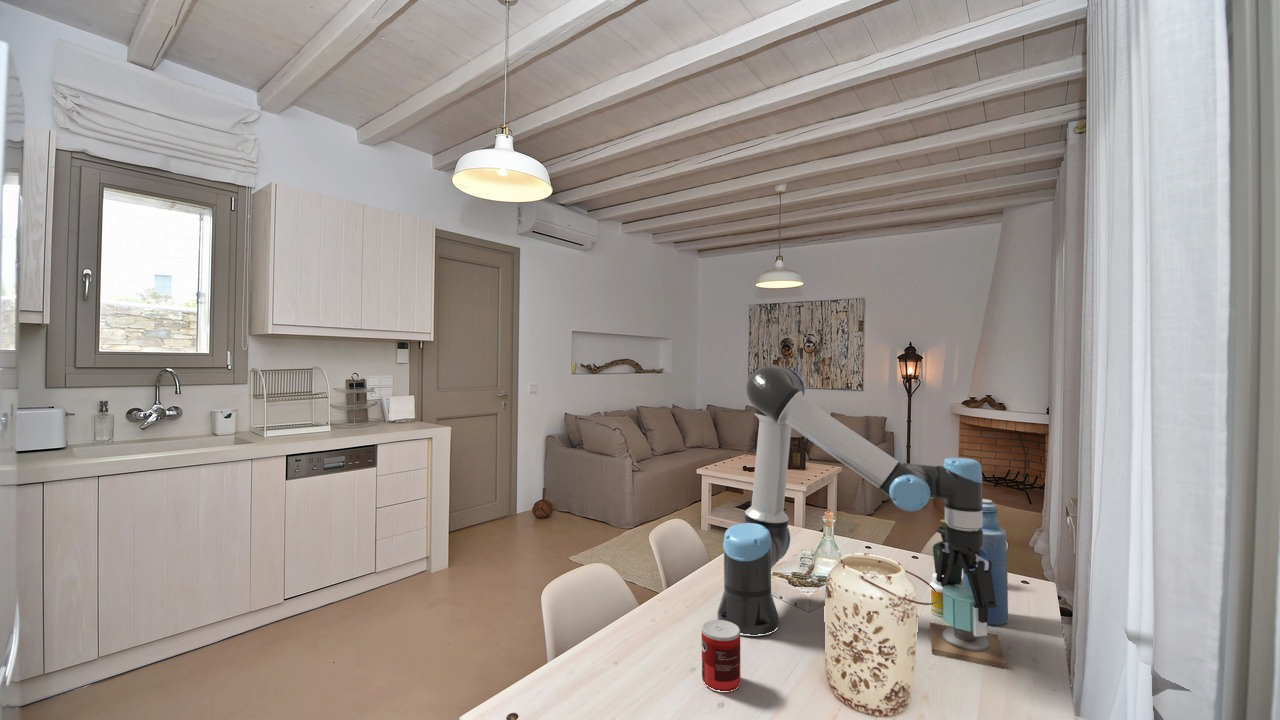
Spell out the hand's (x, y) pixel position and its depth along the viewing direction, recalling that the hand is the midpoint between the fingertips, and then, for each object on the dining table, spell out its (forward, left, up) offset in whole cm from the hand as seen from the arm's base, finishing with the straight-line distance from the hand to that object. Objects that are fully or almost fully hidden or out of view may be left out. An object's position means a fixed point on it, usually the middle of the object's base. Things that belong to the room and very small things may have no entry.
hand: (964, 625), depth 125 cm
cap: (0, 0, +1) cm, 1 cm away
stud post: (0, 0, -5) cm, 5 cm away
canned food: (-46, -38, -5) cm, 60 cm away
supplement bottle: (-4, +17, -5) cm, 18 cm away
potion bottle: (-1, +42, -5) cm, 42 cm away
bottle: (+6, +19, -5) cm, 21 cm away
